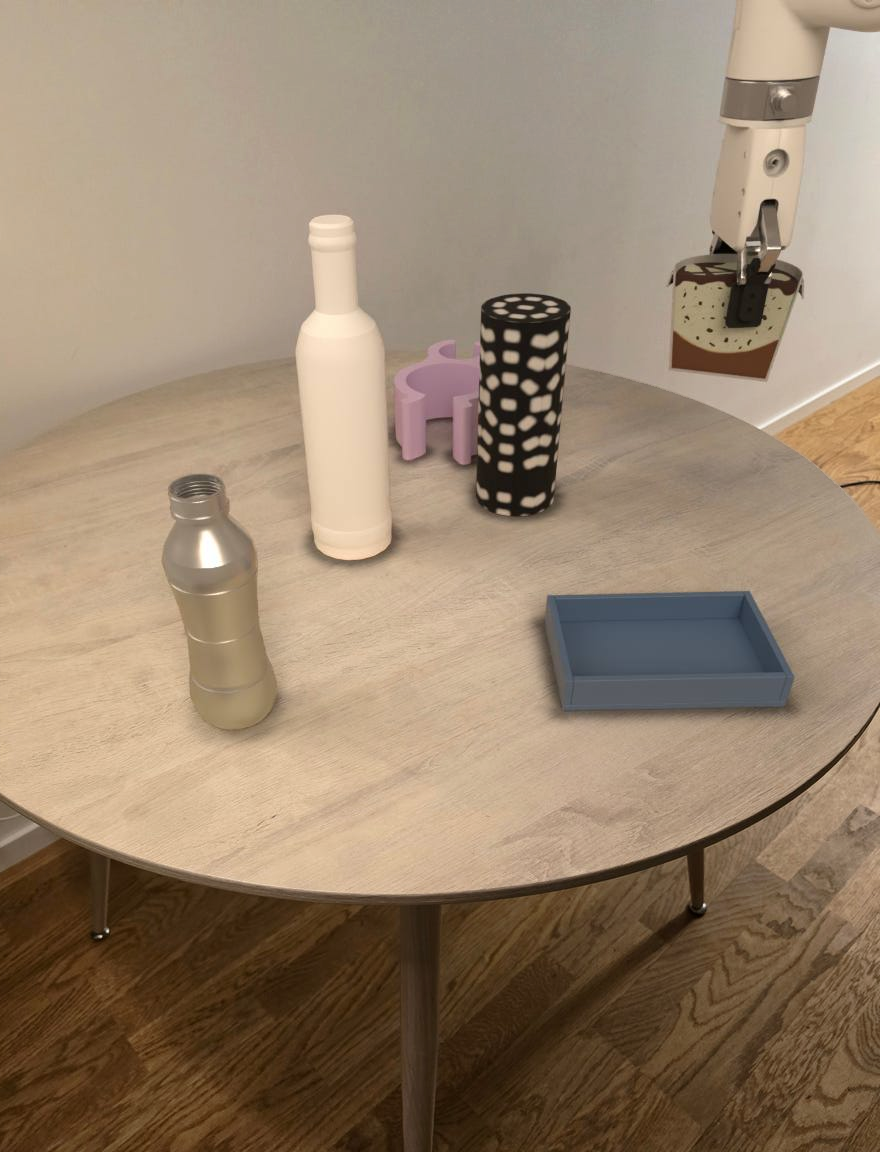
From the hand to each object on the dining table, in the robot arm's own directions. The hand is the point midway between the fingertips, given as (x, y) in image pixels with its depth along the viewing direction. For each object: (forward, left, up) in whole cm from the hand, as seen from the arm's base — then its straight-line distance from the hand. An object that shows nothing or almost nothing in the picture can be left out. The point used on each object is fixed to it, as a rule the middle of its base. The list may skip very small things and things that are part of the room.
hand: (730, 311), depth 87 cm
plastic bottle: (+45, +36, -18) cm, 61 cm away
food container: (0, 0, -6) cm, 6 cm away
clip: (+26, -15, -18) cm, 35 cm away
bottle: (+37, +11, -18) cm, 43 cm away
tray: (+11, +31, -18) cm, 38 cm away
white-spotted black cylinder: (+20, +3, -18) cm, 27 cm away
